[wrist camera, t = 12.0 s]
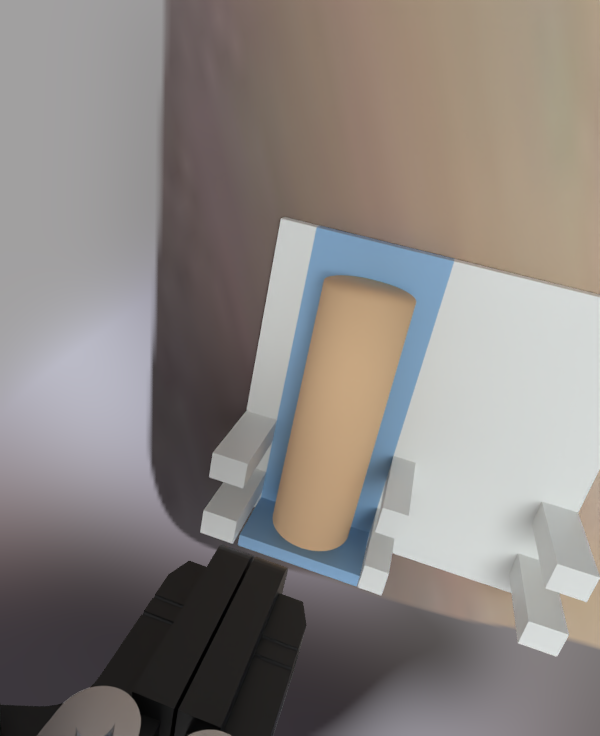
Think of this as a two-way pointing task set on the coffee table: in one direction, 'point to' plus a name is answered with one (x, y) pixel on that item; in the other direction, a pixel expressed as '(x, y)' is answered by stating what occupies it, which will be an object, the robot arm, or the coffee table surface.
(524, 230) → the coffee table surface
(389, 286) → the tan rounded cylinder
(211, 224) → the coffee table surface
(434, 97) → the coffee table surface
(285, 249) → the cylinder holder rack
